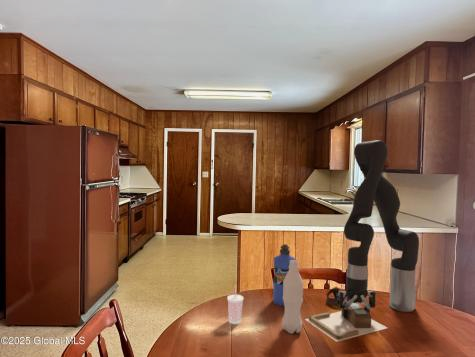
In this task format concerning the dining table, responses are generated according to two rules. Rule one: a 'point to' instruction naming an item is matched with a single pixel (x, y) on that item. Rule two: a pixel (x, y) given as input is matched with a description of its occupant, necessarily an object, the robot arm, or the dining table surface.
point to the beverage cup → (235, 307)
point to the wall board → (340, 326)
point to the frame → (358, 316)
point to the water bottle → (292, 299)
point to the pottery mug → (335, 293)
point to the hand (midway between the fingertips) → (355, 318)
